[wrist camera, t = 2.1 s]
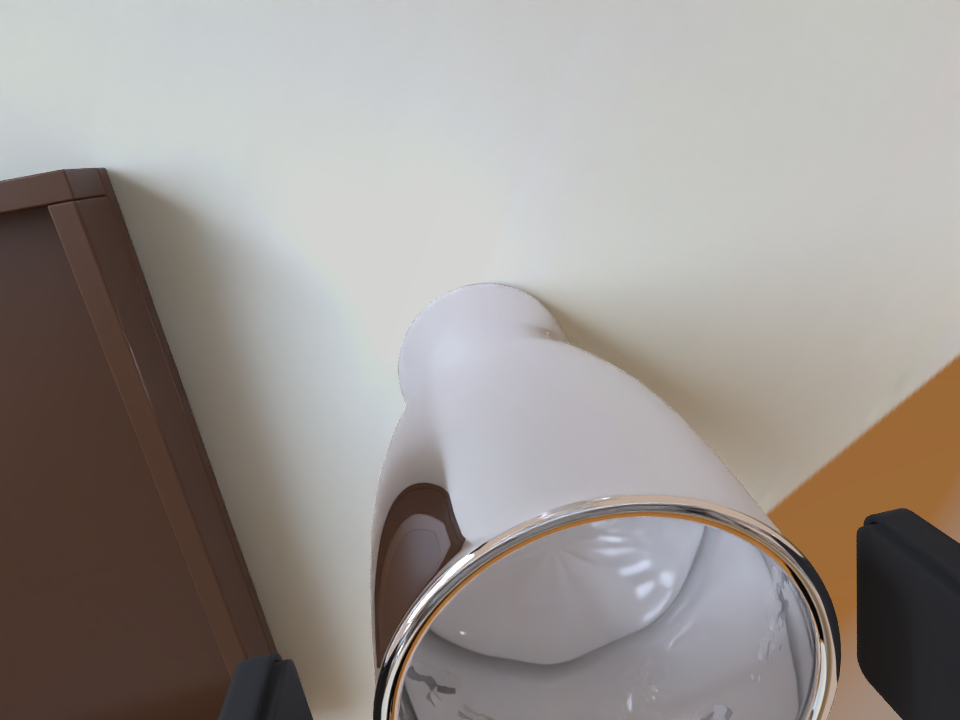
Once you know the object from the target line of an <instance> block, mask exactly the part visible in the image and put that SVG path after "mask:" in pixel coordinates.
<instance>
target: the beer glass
mask: <svg viewBox="0 0 960 720" xmlns="http://www.w3.org/2000/svg"><path fill="white" fill-rule="evenodd" d="M398 377H399V384H400V389H401V393H402V396H403V398H404V401H405V403H406V407H405V409H404V411H403V413H402V415H401V418H400V420H399V422H398V424H397V426H396V428H395V431H394V433H393V436H392V439H391V442H390V445H389V448H388V451H387V454H386V457H385V460H384V463H383V466H382V469H381V472H380V476H379V481H378V486H377V493H376V500H375V507H374V514H373V522H372V530H371V555H370V605H371V630H372V646H373V660H374V676H375V698H374V709H373V720H827V719H828V716H829V713H830V711H831V708H832V705H833V702H834V698H835V695H836V691H837V686H838V680H839V673H840V662H841V644H840V633H839V627H838V621H837V617H836V613H835V610H834V607H833V604H832V601H831V598H830V596H829V594H828V592H827V590H826V588H825V586H824V584H823V582H822V580H821V578H820V577H819V575H818V573H817V572H816V570H815V569H814V567H813V566H812V565H811V563H810V562H809V561H808V559H807V558H806V557H805V556H804V555H803V554H802V552H801V551H800V550H799V549H798V548H797V547H796V546H795V545H794V544H792V543H791V542H790V541H789V540H788V539H787V538H786V537H784V536H783V535H782V533H781V532H780V531H779V530H778V528H777V527H776V526H775V525H774V524H773V523H772V522H771V520H770V519H769V517H768V516H767V515H766V514H765V512H764V511H763V510H762V509H761V507H760V506H759V505H758V503H757V502H756V501H755V500H754V498H753V497H752V496H751V494H750V493H749V492H748V491H747V489H746V488H745V487H744V486H743V484H742V483H741V482H740V481H739V480H738V479H737V477H736V476H735V475H734V474H733V473H732V471H731V470H730V469H729V468H728V467H727V465H726V464H725V463H724V462H723V461H722V459H721V458H720V457H719V456H718V455H717V454H716V452H715V451H714V450H713V449H712V448H711V447H710V446H709V445H708V444H707V443H706V442H705V441H704V440H703V438H702V437H701V436H700V435H699V434H698V433H697V432H696V431H695V430H694V429H693V428H692V427H691V426H690V425H689V424H688V423H687V422H686V421H685V420H684V419H683V418H682V417H681V416H680V415H679V414H678V413H677V412H676V411H675V410H674V409H673V408H672V407H670V406H669V405H668V404H667V403H666V402H664V401H663V400H662V399H661V398H660V397H658V396H657V395H656V394H655V393H654V392H652V391H651V390H650V389H649V388H648V387H646V386H645V385H644V384H643V383H642V382H640V381H639V380H637V379H636V378H635V377H633V376H631V375H630V374H628V373H627V372H625V371H623V370H621V369H620V368H618V367H616V366H614V365H612V364H611V363H609V362H607V361H605V360H604V359H602V358H600V357H598V356H596V355H594V354H592V353H590V352H588V351H585V350H583V349H580V348H578V347H576V346H573V345H571V344H568V343H567V340H566V337H565V335H564V332H563V330H562V328H561V327H560V325H559V323H558V322H557V320H556V319H555V317H554V316H553V315H552V313H551V312H550V311H549V310H548V309H547V308H546V307H545V306H544V305H543V304H542V303H541V302H540V301H538V300H537V299H536V298H534V297H533V296H531V295H529V294H528V293H526V292H524V291H521V290H519V289H516V288H513V287H509V286H505V285H499V284H473V285H467V286H463V287H460V288H457V289H454V290H452V291H449V292H447V293H445V294H443V295H441V296H440V297H438V298H437V299H435V300H434V301H432V302H431V303H430V304H429V305H427V306H426V307H425V308H424V309H423V310H422V311H421V312H420V313H419V314H418V316H417V317H416V318H415V319H414V321H413V322H412V324H411V325H410V327H409V329H408V331H407V332H406V335H405V337H404V339H403V342H402V345H401V349H400V353H399V360H398Z"/></svg>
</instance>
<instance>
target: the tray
mask: <svg viewBox="0 0 960 720" xmlns="http://www.w3.org/2000/svg"><path fill="white" fill-rule="evenodd" d="M274 652H275V653H277V651H276V648H275V645H274V642H273V639H272V637H271V634H270V631H269V628H268V625H267V623H266V620H265V617H264V614H263V611H262V608H261V606H260V603H259V600H258V597H257V594H256V592H255V589H254V586H253V583H252V580H251V577H250V575H249V572H248V569H247V566H246V563H245V561H244V558H243V555H242V552H241V549H240V546H239V544H238V541H237V538H236V535H235V532H234V530H233V527H232V524H231V521H230V518H229V515H228V513H227V510H226V507H225V504H224V501H223V499H222V496H221V493H220V490H219V487H218V484H217V482H216V479H215V476H214V473H213V470H212V468H211V465H210V462H209V459H208V456H207V453H206V451H205V448H204V445H203V442H202V439H201V437H200V434H199V431H198V428H197V425H196V422H195V420H194V417H193V414H192V411H191V408H190V406H189V403H188V400H187V397H186V394H185V391H184V389H183V386H182V383H181V380H180V377H179V375H178V372H177V369H176V366H175V363H174V360H173V358H172V355H171V352H170V349H169V346H168V344H167V341H166V338H165V335H164V332H163V329H162V327H161V324H160V321H159V318H158V315H157V313H156V310H155V307H154V304H153V301H152V298H151V296H150V293H149V290H148V287H147V284H146V282H145V279H144V276H143V273H142V270H141V267H140V265H139V262H138V259H137V256H136V253H135V251H134V248H133V245H132V242H131V239H130V236H129V234H128V231H127V228H126V225H125V222H124V220H123V217H122V214H121V211H120V208H119V205H118V203H117V200H116V197H115V194H114V191H113V189H112V186H111V183H110V180H109V177H108V174H107V172H106V169H105V168H83V169H62V170H57V171H52V172H46V173H41V174H35V175H30V176H25V177H19V178H14V179H9V180H3V181H0V720H218V718H219V715H220V712H221V709H222V706H223V703H224V700H225V697H226V694H227V691H228V688H229V686H230V683H231V680H232V677H233V674H234V671H235V668H236V666H237V664H238V662H239V661H241V660H244V659H248V658H253V657H257V656H261V655H266V654H270V653H274Z"/></svg>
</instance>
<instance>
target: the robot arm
mask: <svg viewBox="0 0 960 720" xmlns="http://www.w3.org/2000/svg"><path fill="white" fill-rule="evenodd" d="M857 658H858V663H859V666H860V668H861V671H862V673H863V674H864V676H865V678H866V679H867V680H868V682H869V683H870V684H871V685H872V686H873V687H874V688H875V689H876V691H877V692H878V693H879V694H880V695H881V696H882V697H883V698H884V700H885V701H886V702H887V703H888V704H889V705H890V706H891V707H892V708H893V710H894V711H896V713H897V714H898V715H899V716H900V717H901V718H902V719H903V720H960V544H959V543H958V542H956V541H955V540H953V539H952V538H950V537H949V536H948V535H946V534H945V533H943V532H941V531H940V530H939V529H937V528H936V527H934V526H933V525H931V524H930V523H928V522H927V521H925V520H924V519H922V518H921V517H920V516H918V515H917V514H915V513H914V512H912V511H910V510H908V509H905V508H899V509H895V510H891V511H886V512H882V513H878V514H873V515H870V516H868V517H866V519H865V521H864V526H863V527H860V528H859V529H858V531H857ZM218 720H313V718H312V715H311V712H310V709H309V706H308V703H307V700H306V697H305V694H304V691H303V688H302V685H301V682H300V679H299V676H298V673H297V670H296V667H295V665H294V663H293V661H292V660H291V659H288V660H283V661H282V659H281V656H280V655H279V654H278V653H275V652H274V653H270V654H266V655H261V656H257V657H253V658H248V659H244V660H241V661H239V662H238V664H237V666H236V668H235V671H234V674H233V677H232V680H231V683H230V686H229V688H228V691H227V694H226V697H225V700H224V703H223V706H222V709H221V712H220V715H219V718H218Z"/></svg>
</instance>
